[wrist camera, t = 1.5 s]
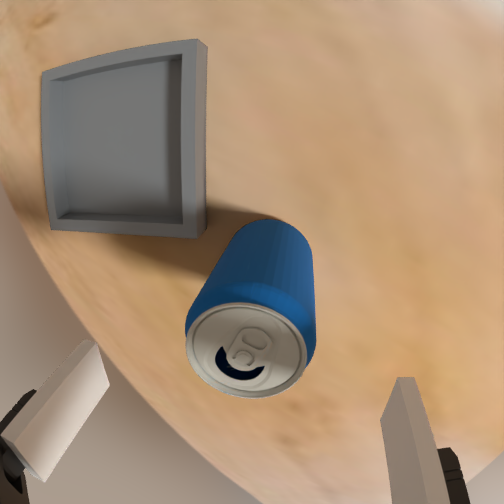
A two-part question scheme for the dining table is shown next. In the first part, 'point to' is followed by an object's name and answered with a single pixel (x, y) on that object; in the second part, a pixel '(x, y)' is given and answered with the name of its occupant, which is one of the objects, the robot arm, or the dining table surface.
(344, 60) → the dining table surface
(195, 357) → the beverage can
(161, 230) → the tray
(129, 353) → the dining table surface
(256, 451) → the dining table surface
